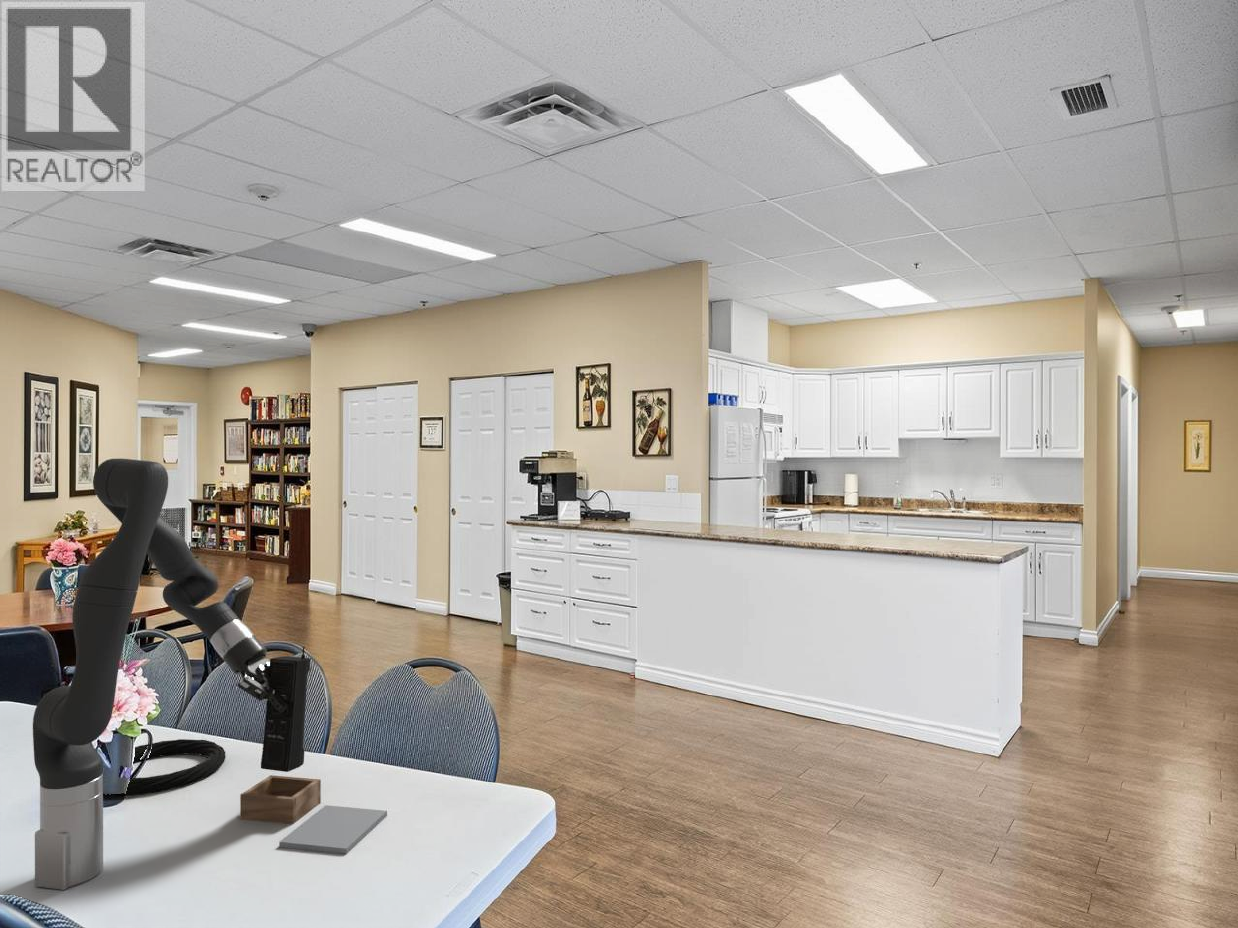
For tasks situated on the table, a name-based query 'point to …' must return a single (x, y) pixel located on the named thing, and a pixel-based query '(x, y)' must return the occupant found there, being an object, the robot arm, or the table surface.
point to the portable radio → (286, 715)
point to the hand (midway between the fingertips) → (289, 707)
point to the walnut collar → (280, 799)
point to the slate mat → (334, 829)
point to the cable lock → (180, 777)
